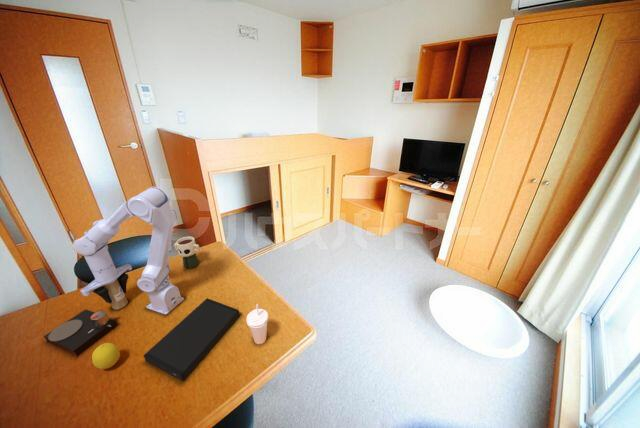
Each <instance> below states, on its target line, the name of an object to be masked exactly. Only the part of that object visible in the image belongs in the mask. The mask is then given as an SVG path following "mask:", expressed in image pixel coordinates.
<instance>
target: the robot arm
mask: <svg viewBox="0 0 640 428" xmlns="http://www.w3.org/2000/svg"><path fill="white" fill-rule="evenodd" d="M130 217H132V218H134V217H137V218H138V219H140V220H141V221H143V222H145V223H147V224H149V225H150V226H152V232H151V238H150V244H149V250H148V256H147V262H146V265H145V267H144V268H143V271H142V273H141V277H140V278H139V279H138V280H137V281H136V285H137V288H138V289H140V291H142V292H144V293H146V294H147V297H148V299H149V304H148V305H146V306H145V307H146V309H148V310H150V311H154V312H156V313H159V314H162V315H168V314H169V313H170V312H171V311H173V310H174V309H175V308H176V307H178V305H179V304H181V303H182V302H183V301H184V300H185V298H184V297H183V296H182V295H181V292H180V289H179V287H178V286H176V285H174V283H173V284H172V282H171V281H170V275H169V274H170V273H171V267H170V260H168V255H169V251H170V246H171V242H172V236H173V232H174V226H175V221H176V218H175V214H174V212H173V209H172V206H171V197H170V195H168V193H167V192H166V191H164V190H163V189H162V188H161V187H158V186H150V187H148V188H146V189H145V190H144V191H141V192H140V193H139V194H136V195H135V196H133V197H130V198H129V199H128V200H127V201H125V202H123V203H121V205H120V206H119V207H118V208H117V209H116V210H115V211H114V212H113V213H112V214H111V215H110V217H109V218H101V219H97V220H95V221H94V222H93V223H92V227H90V229H87V230H86V231H84V232H83V234H84V235H83V236H81V237H79V238H77V239H75V240H74V242H73V244H72V248H73V250H74V251H75V252H76V253H77V254H78V255H81V256H83V257H84V259H85V261H86V263H87V266H88V267H89V269H90V271H91V273H92V275H93V277H94V280H92V281H91V282H90V283H89V284H87V285H86V286H85V287H83V288H81V289H80V290H79V291H80V293H81V296H84V297H88V296H90V295H91V293H94V294H96V295H97V296H98V297H100V298H102V299H103V300H104V301H105V303H107V304H111V303H112V300H111V298H110V296H109V293H108V289H106V288H104V287H103V285H105V284H108V283H110V282H112V281H114V280H116V279H117V280H118V282H119V284H120V286H121V288H122V290H123V292H124V295H125V294H126V293H127V284H128V280H129V278H130V277H129V274H128V273H126V272H129V271H132V270H133V266H132V265H131V264H129V263H126V264H124V265H122V266H119V267H116V266H115V263H114V261H113V258H112V256H111V254H110V252H109V245H108V244H109V242H110V240H112V239H113V238H114V237H116V235H118V233H119V232H120V231H121V227H120V225H121V224H122V223H124V222H125V221H126V220H127V219H128V218H130Z"/></svg>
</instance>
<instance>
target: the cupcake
mask: <svg viewBox="0 0 640 428" xmlns="http://www.w3.org/2000/svg"><path fill="white" fill-rule="evenodd" d="M109 319H110V318H109V316H108V314H107V312H106V310H99V311H96V312H94V314H93V315H92V316H91V320H92V322H93V324H94V326H95V327H96V328H100V327H103V326H105V325H106V324H107V323H108V322H109Z"/></svg>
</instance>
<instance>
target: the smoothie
mask: <svg viewBox="0 0 640 428" xmlns="http://www.w3.org/2000/svg"><path fill="white" fill-rule="evenodd" d="M255 307H256V308H255V309H253V310H250V312H249V313H248V314H247V316H246V319H245V321H246V324H247V326H248V328H249V330H250V333H251V335H252V338H253V341H254V343H255V344H257V345H262V344H264V343H265V342H266V340H267V333H268V321H269V313H268V311H267V310H265V309H263V308H259V304H258V303H255Z"/></svg>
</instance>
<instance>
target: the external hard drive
mask: <svg viewBox="0 0 640 428" xmlns="http://www.w3.org/2000/svg"><path fill="white" fill-rule="evenodd" d="M238 318H240V310H239V309H237V308H235V307H233V306H229V305H226V304H224V303H221V302H218V301H216V300H213V299H210V298H206V299H204V300H203V301H202V302H201V303H199V305H198V306H196V307H195V308H194V309H193V310H192V311H191V312H190V313H189V314H187V316H185V317H184V318H183V319H182V320H181V321H180V322H179V323H177V324H176V325H175V326H174V327H173V328H172V329H171V330H170V331H168V332H167V334H165V335H164V336H163V337H162V338H161V339H160V340H159V341H158V342H157V343H156V344H154V345H153V346H152V347H151V348H150V349H149V350H148V351H147V352H145V353H144V354H143V358H144V360H145V362H146V363H148V364H150V365H151V366H153V367H155V368H157V369H158V370H161V371H162V372H165V373H166V374H167V375H170V376H171V377H174V378H175V379H177V380H179V381H181V382H184V381H185V380H186V379H187V378H188V377H189V375H190V374H191V373H192V372H193V371H194V370H195V368H196V367H197V366H198V365H199V364H200V363H201V361H202V360H203V359H204V358H205V357H206V356H207V354H208V353H209V352H210V351H211V350H212V349H213V347H214V346H215V345H216V344H217V343H218V342H219V341H220V340H221V338H223V336H224V335H225V334H226V333H227V331H228V330H230V328H231V327H232V325H233V324H234V323H235V322H236V321H237V320H238Z"/></svg>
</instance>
